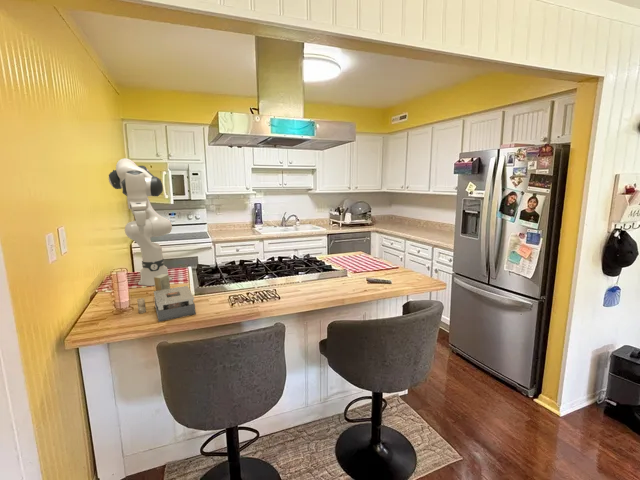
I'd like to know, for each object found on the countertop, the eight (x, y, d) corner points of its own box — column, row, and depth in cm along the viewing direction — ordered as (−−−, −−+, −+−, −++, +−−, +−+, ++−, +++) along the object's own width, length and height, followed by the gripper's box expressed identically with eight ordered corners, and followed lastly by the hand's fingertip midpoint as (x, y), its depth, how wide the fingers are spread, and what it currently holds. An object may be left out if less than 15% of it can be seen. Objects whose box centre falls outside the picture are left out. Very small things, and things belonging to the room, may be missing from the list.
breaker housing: (155, 306, 171) (153, 291, 170) (188, 300, 179) (187, 285, 177) (158, 321, 154) (156, 304, 153) (195, 314, 162) (194, 297, 160)
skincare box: (165, 294, 188) (163, 273, 185) (171, 295, 186) (169, 274, 184) (155, 298, 182) (153, 276, 179) (162, 299, 180) (159, 277, 178)
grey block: (138, 311, 166) (136, 298, 164) (145, 310, 167) (144, 297, 166) (138, 313, 163) (137, 301, 162) (146, 312, 165) (144, 299, 163)
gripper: (130, 203, 172) (133, 230, 175) (131, 207, 155) (135, 236, 158) (144, 202, 175) (147, 229, 178) (146, 206, 158) (150, 235, 161)
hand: (141, 232), depth 168 cm, fingers open, 8 cm apart
